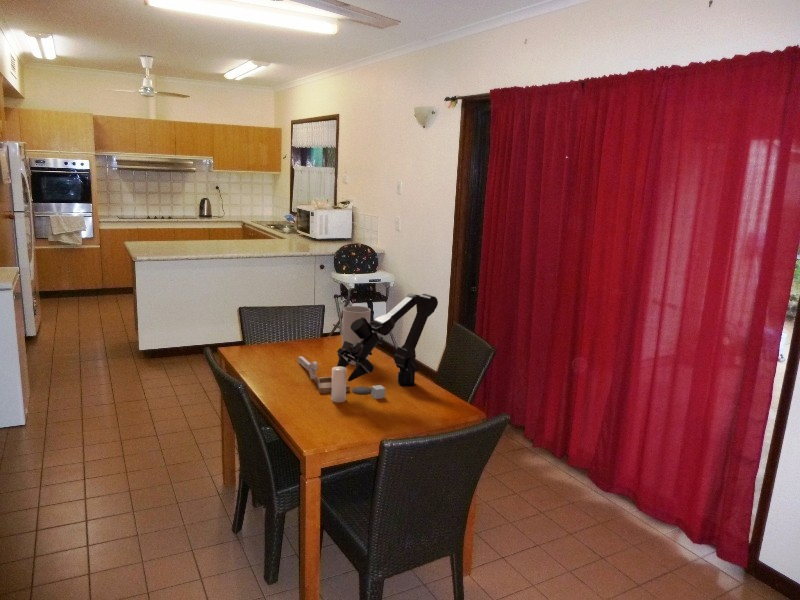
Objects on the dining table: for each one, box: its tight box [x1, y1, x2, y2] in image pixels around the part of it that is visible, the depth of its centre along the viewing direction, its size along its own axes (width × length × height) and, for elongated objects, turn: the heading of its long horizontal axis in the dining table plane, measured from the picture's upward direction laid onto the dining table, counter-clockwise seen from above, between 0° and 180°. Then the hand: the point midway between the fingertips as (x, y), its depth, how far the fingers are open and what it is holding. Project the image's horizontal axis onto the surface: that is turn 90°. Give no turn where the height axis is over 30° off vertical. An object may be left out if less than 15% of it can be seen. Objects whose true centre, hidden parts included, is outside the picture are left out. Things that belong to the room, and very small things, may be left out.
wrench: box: [297, 355, 319, 380], centre depth 250 cm, size 8×2×30 cm
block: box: [370, 384, 386, 400], centre depth 227 cm, size 4×4×4 cm
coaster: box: [351, 386, 372, 395], centre depth 233 cm, size 8×8×1 cm
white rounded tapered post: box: [330, 365, 348, 403], centre depth 221 cm, size 6×6×12 cm
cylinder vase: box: [341, 305, 372, 366], centre depth 266 cm, size 12×12×25 cm
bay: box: [315, 376, 350, 394], centre depth 235 cm, size 12×12×2 cm
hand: (341, 377), depth 221 cm, fingers open, 9 cm apart
